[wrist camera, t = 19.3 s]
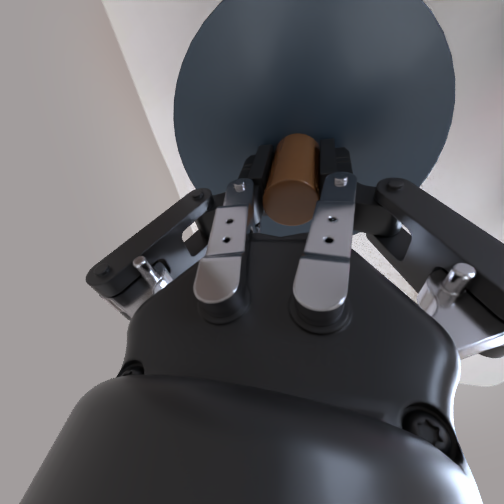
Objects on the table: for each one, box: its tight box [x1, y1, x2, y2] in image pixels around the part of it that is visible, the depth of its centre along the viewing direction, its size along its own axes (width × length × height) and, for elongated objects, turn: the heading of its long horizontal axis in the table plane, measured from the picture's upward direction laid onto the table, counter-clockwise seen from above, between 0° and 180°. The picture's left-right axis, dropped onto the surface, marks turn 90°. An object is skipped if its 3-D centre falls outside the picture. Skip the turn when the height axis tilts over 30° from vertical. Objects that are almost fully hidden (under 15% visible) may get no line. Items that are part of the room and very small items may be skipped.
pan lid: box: [173, 0, 455, 237], centre depth 13 cm, size 15×15×6 cm
